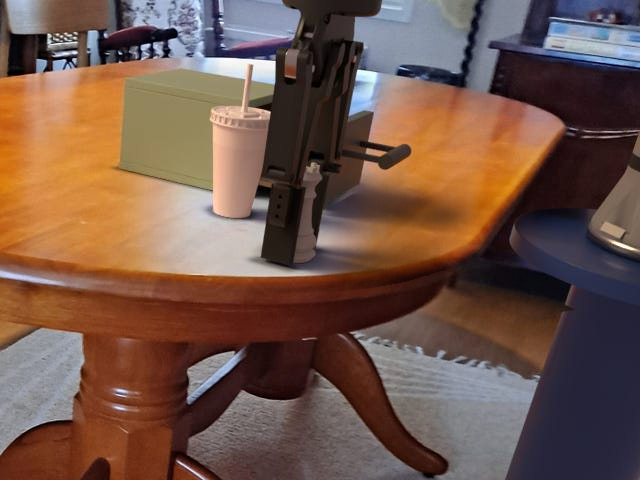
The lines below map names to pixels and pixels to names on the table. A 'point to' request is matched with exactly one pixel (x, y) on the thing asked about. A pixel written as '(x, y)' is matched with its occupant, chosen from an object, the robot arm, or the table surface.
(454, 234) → the table surface
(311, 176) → the rook chess piece
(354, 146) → the drawer
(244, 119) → the smoothie
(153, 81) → the cabinet
